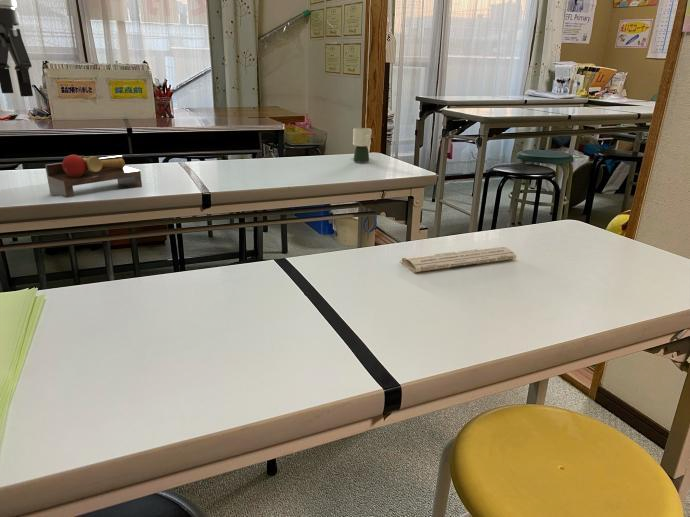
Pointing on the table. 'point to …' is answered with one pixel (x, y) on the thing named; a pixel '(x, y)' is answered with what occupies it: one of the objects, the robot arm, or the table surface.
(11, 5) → the robot arm
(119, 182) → the shelf
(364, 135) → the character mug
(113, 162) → the kendama
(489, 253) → the newspaper
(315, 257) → the table surface
